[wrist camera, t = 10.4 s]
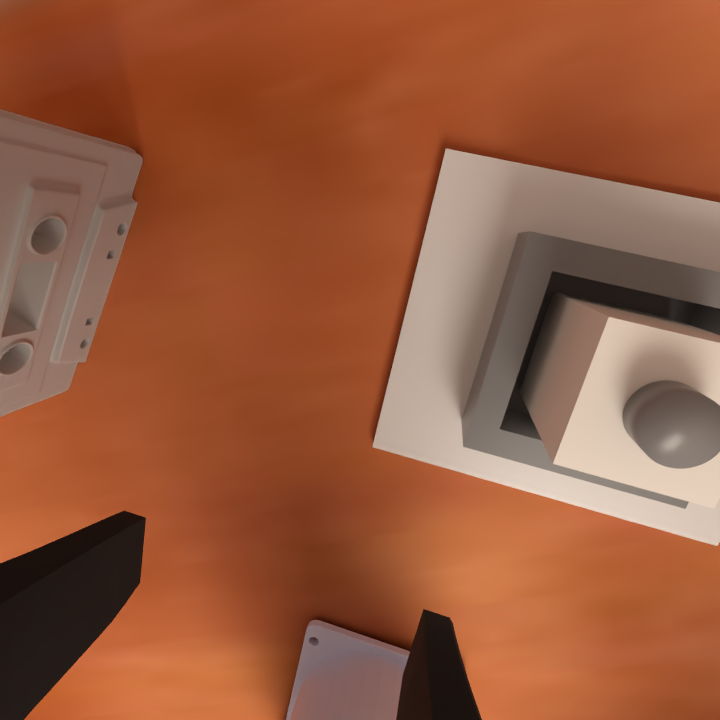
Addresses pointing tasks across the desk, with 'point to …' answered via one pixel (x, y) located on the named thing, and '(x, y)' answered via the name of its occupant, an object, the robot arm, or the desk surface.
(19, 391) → the cassette
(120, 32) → the desk surface
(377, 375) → the desk surface
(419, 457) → the socket dock
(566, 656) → the desk surface
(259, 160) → the desk surface
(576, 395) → the block
